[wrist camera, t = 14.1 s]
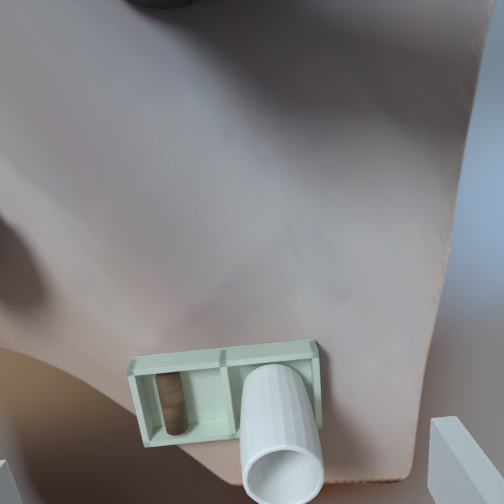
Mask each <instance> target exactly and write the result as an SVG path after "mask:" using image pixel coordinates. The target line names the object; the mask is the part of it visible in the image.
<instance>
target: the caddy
mask: <svg viewBox="0 0 504 504" xmlns="http://www.w3.org/2000/svg"><path fill="white" fill-rule="evenodd" d="M274 363H276V364H282V365H285V366H288V367H290V368H292V369H293V370H295V371H296V372H297V373H298V374H299V375H300V376H301V378H302V381H303V383H304V386H305V389H306V392H307V395H308V398H309V401H310V404H311V408H312V411H313V415H314V418H315V422H316V426H317V430H323V423H322V404H321V386H320V367H319V351H318V348H317V345H316V343H315V340H314V339H305V340H295V341H285V342H275V343H265V344H255V345H245V346H235V347H225V348H215V349H205V350H195V351H185V352H175V353H165V354H155V355H145V356H135V357H133V359H132V361H131V363H130V365H129V367H128V369H127V375H128V380H129V384H130V388H131V393H132V397H133V401H134V405H135V410H136V414H137V418H138V422H139V426H140V431H141V435H142V439H143V444H144V447H153V446H163V445H173V444H184V443H194V442H204V441H214V440H225V439H235V438H240V416H241V402H242V393H243V386H244V382H245V380H246V378H247V376H248V375H249V374H250V373H251V372H252V371H254V370H255V369H257V368H258V367H261V366H264V365H267V364H274ZM177 371H179V372H180V377H181V383H182V388H183V394H184V399H185V404H186V410H187V415H188V421H189V427H188V429H187V430H186V431H185V432H184V433H182V434H180V435H177V436H172V435H169V434H168V433H167V432H166V428H165V423H164V418H163V414H162V409H161V404H160V399H159V394H158V390H157V385H156V380H155V376H156V374H157V373H167V372H177Z"/></svg>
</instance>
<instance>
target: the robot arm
mask: <svg viewBox="0 0 504 504" xmlns="http://www.w3.org/2000/svg"><path fill="white" fill-rule="evenodd" d="M131 1H133V2H135V3H138V4H141V5H144V6H147V7H152V8H162V9H167V8H176V7H181V6H184V5H187V4H190V3H192V2H194V1H196V0H131ZM427 487H428V489H429V491H430V493H431V495H432V497H433V499H434V501H435V503H436V504H504V478H503V477H502V476H501V474H500V473H499V472H498V471H497V469H496V468H495V467H494V465H493V464H492V463H491V461H490V460H489V459H488V457H487V456H486V455H485V453H484V452H483V451H482V450H481V448H480V447H479V446H478V445H477V443H476V442H475V440H474V439H473V438H472V436H471V435H470V434H469V432H468V431H467V430H466V428H464V426H463V425H462V423H461V422H460V421H459V419H458V418H457V417H456V416H450V417H441V418H431V426H430V448H429V466H428V484H427ZM0 504H23V503H22V500H21V498H20V495H19V492H18V490H17V487H16V485H15V482H14V479H13V477H12V474H11V471H10V469H9V466H8V463H7V461H6V460H0Z"/></svg>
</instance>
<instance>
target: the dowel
mask: <svg viewBox="0 0 504 504" xmlns="http://www.w3.org/2000/svg"><path fill="white" fill-rule="evenodd" d="M155 380H156V385H157V390H158V394H159V399H160V404H161V409H162V414H163V418H164V423H165V428H166V432H167V433H168V434H169V435H172V436H177V435H180V434H182V433H184V432H185V431H186V430H187V429H188V427H189V421H188V415H187V410H186V404H185V399H184V394H183V388H182V383H181V377H180V372H179V371H177V372H167V373H157V374H156V376H155Z"/></svg>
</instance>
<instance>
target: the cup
mask: <svg viewBox="0 0 504 504" xmlns="http://www.w3.org/2000/svg"><path fill="white" fill-rule="evenodd" d="M240 456H241V467H242V477H243V485H244V488H245V490H246V492H247V494H248V495H249V496H250V497H251V498H252V499H254V500H255V501H257V502H258V503H260V504H305V503H307V502H308V501H310V500H311V499H312V498H314V497H315V496H316V495H317V494H318V492H319V491H320V489H321V487H322V485H323V482H324V478H325V477H324V465H323V458H322V450H321V445H320V440H319V435H318V430H317V426H316V422H315V418H314V415H313V411H312V408H311V404H310V401H309V398H308V395H307V392H306V389H305V386H304V383H303V381H302V378H301V376H300V375H299V374H298V373H297V372H296V371H295V370H293V369H292V368H290V367H288V366H285V365H282V364H276V363H274V364H267V365H264V366H261V367H258V368H257V369H255V370H254V371H252V372H251V373H250V374H249V375H248V376H247V378H246V380H245V382H244V386H243V393H242V402H241V416H240Z"/></svg>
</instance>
